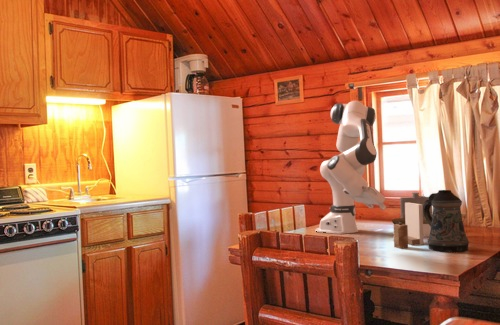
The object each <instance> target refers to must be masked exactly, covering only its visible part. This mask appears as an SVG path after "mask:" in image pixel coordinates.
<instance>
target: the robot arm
mask: <svg viewBox="0 0 500 325" xmlns="http://www.w3.org/2000/svg"><path fill="white" fill-rule="evenodd" d="M330 118H331V122H332V123H333V124H335V125H336V124H337V125H339V128H338V132H337V137H336V138H337V139H336V143H335V144H336V146H335V147H336V148H337V151H338V152H339V154H335V155H334V156H332V157H331V158H330V159H328V160H324V161H323V162H321V163H320V164H321V165H320V167H319V171H320V175H321V177H322V178H323V179H325V180H326V182H328V184H329V185H330V188H331V192H332V204H331V206H329V207H328V208H329V212H328V213H327V214H326V215H325V216H324V217H322V218H321V219H320V221H319V227H317V228H315V232H316V231H317V232H316V233H323V232H326V234H336V235H343V234H353V233H354V234H355V233H358V232H359V229H358V227H357V226H358V225H357V222H356V214H357V213H356V204H355V202H356V203H361V204H364V205H365V206H367V208H369V209H373V208H374V207H375V205H377V206H379V209H380V210H382V211H385V210H386V209H387V206H386V205H385V203H384V202H385V200H386V197H385V196H384V195H383V194H382V193H381V192H380V191H379V190H378V189H376V188H375V187H372V186H368V185H369V183H368V181H367V180H366V179H365V178H364V177H363V175H364V174H365V171H366V166H367V165H370V164H373V163H375V161H376V158H377V155H378V154H377V149H376V147H375V142H374V136H373V129H372V127H373V125H374V124H375V122H376V118H377V115H376V110H375V109H374V108H373V107H371V106H366V105H364V103H362V102H361V101H358V100H352V101H349V102H348V103H341V102H339V103H338V102H337V103H335V104H334V105H333V107H332V108H331V109H330Z"/></svg>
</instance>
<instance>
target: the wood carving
mask: <svg viewBox="0 0 500 325" xmlns="http://www.w3.org/2000/svg"><path fill="white" fill-rule="evenodd" d="M461 214H462V220H463V223H464V221H465V219H466V217H467V212H461ZM391 222H392V223H393V225H394V224H399V222H402V224H404V225H405V218H401V217H398V218H394V219H391ZM430 230H431V226H430V225H429V224H428V222H427V221H426V219H425V218H423V237H429V235H430Z"/></svg>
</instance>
